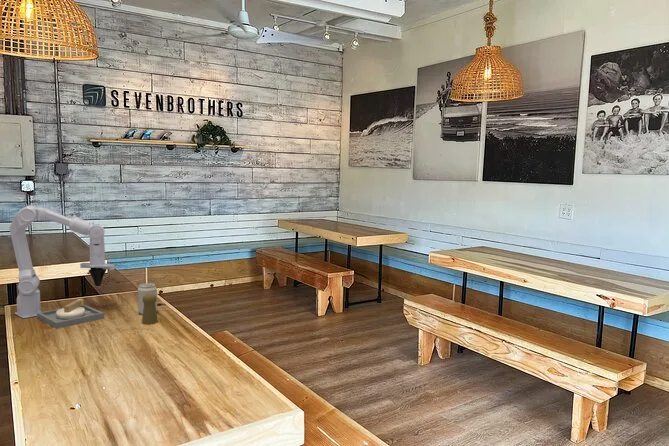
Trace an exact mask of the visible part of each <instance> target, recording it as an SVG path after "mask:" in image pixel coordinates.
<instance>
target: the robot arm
mask: <svg viewBox="0 0 669 446" xmlns="http://www.w3.org/2000/svg"><path fill="white" fill-rule="evenodd" d="M46 220H49V221H51V222H54V223H58V224H61V225H64V226H67V227H68V229H69V230H70V231H71V232H74V233H78V234H80V235H83V236H88V237H89V244H88V245H89V262H81V263H79V265H80V269H89V270H88V273H89V274H90V276H91V278H92V280H93V283H94V286H95V287H100V286H102V283H103V279H104V276H105V274H106V272H107V270H109V271H114V270H116V264H112V263H106V252H105V250H106V249H105V248H106V247H105V246H106V244H105V238H104V236H105V228H104V227H103V226H102V225H100V224H98V223H96V222H93V221H92V222H91V221H87V220H84V218H83V217H80V216H79V217H74V218H70V217H67V216H65V215H63V214H60V213H57V212H55V211H53V210H51V209H48V208H45V207H41V206H37V205H34V204H29V205H27V206H24V207H21V208H20V209H19V210H18V211H17V212H16V213H15V215H14V218H13V220H12V222H11V223H10V226H9V233H10V236H11V242H12V246H13V251H14V255H15V259H16V265H17V268H18V283H17V289H18V294H17V296H16V312H14V314H15V315H16V316H18V317H20V318H22V319H28V318H32V317H37V313H40V312H42V309H41V291H40V289H39V286H40V283H41V280H40V278H39V277H38V276H37V274H36V271H35V269H34V266H33V261H32V258H31V252H30V249H29V244H28V238H27V234H26V229H27V228H28V227H29V226H30V225H31V224H32V223H33V222H35V221H46ZM95 223H96V224H95Z"/></svg>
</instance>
